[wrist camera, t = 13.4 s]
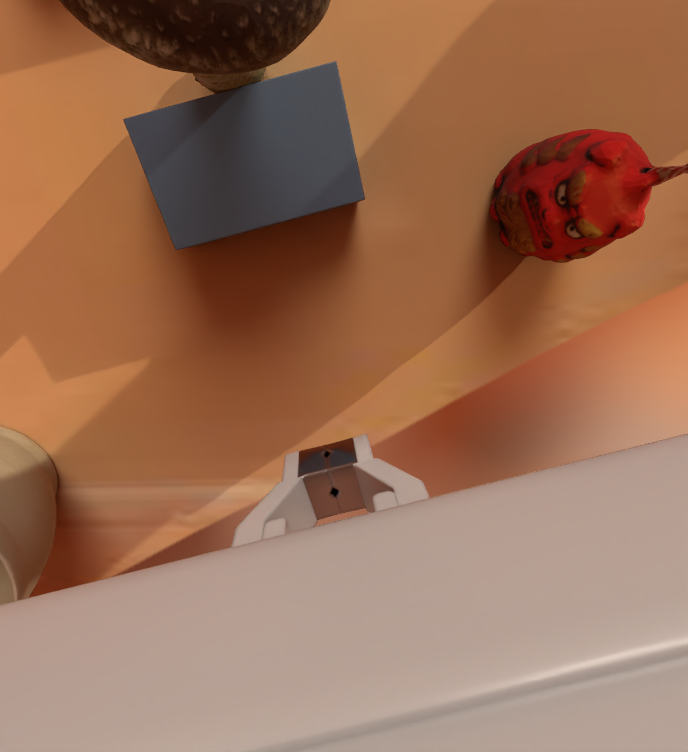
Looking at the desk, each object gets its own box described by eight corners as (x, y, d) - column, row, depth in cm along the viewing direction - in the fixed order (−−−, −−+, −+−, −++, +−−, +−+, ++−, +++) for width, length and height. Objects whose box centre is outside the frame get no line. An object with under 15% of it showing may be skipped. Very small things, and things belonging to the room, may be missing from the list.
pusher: (332, 82, 24) (336, 60, 21) (357, 202, 26) (364, 199, 23) (147, 132, 24) (122, 118, 21) (191, 247, 27) (175, 250, 23)
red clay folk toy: (466, 184, 27) (641, 140, 13) (556, 118, 26) (851, -6, 12) (511, 275, 29) (696, 320, 16) (594, 218, 28) (870, 213, 15)
